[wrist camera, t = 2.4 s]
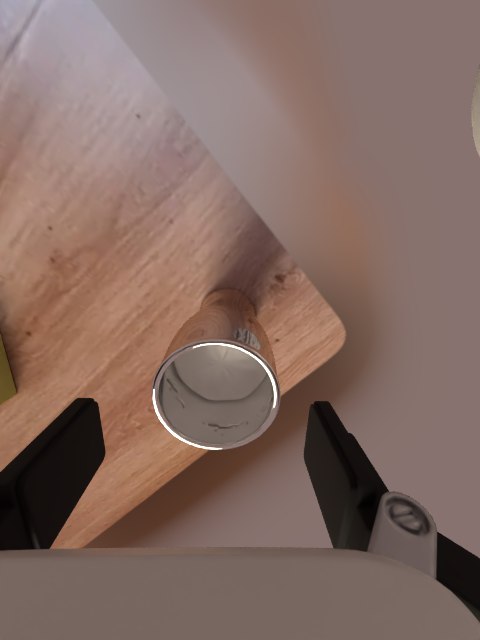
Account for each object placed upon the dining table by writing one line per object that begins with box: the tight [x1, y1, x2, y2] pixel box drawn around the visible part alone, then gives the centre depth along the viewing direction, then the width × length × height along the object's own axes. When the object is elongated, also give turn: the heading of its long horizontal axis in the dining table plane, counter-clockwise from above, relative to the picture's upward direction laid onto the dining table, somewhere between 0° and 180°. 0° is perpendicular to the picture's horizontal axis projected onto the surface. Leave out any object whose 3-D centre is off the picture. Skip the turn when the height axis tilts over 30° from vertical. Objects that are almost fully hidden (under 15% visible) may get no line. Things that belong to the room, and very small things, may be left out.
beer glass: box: [152, 289, 280, 450], centre depth 20 cm, size 7×7×15 cm
